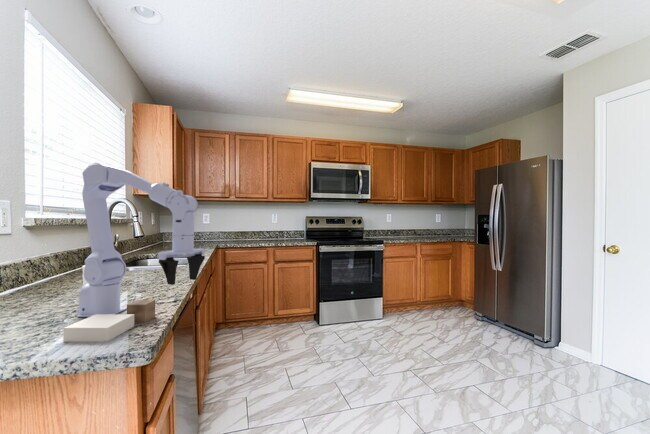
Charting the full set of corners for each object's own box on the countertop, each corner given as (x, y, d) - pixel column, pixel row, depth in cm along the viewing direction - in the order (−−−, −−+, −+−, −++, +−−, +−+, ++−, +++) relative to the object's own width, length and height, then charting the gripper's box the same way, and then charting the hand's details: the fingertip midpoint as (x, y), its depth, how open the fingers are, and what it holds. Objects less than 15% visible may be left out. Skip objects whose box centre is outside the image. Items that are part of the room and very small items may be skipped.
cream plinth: (63, 343, 69) (63, 327, 69) (95, 327, 79) (95, 314, 79) (107, 342, 69) (107, 327, 69) (134, 327, 79) (134, 314, 79)
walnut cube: (126, 323, 82) (126, 304, 82) (137, 317, 87) (137, 299, 87) (145, 323, 82) (145, 304, 82) (155, 317, 87) (155, 299, 87)
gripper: (171, 237, 81) (170, 288, 80) (212, 234, 94) (211, 278, 94) (153, 236, 83) (152, 285, 83) (195, 234, 97) (194, 276, 97)
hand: (182, 281), depth 89 cm, fingers open, 7 cm apart
